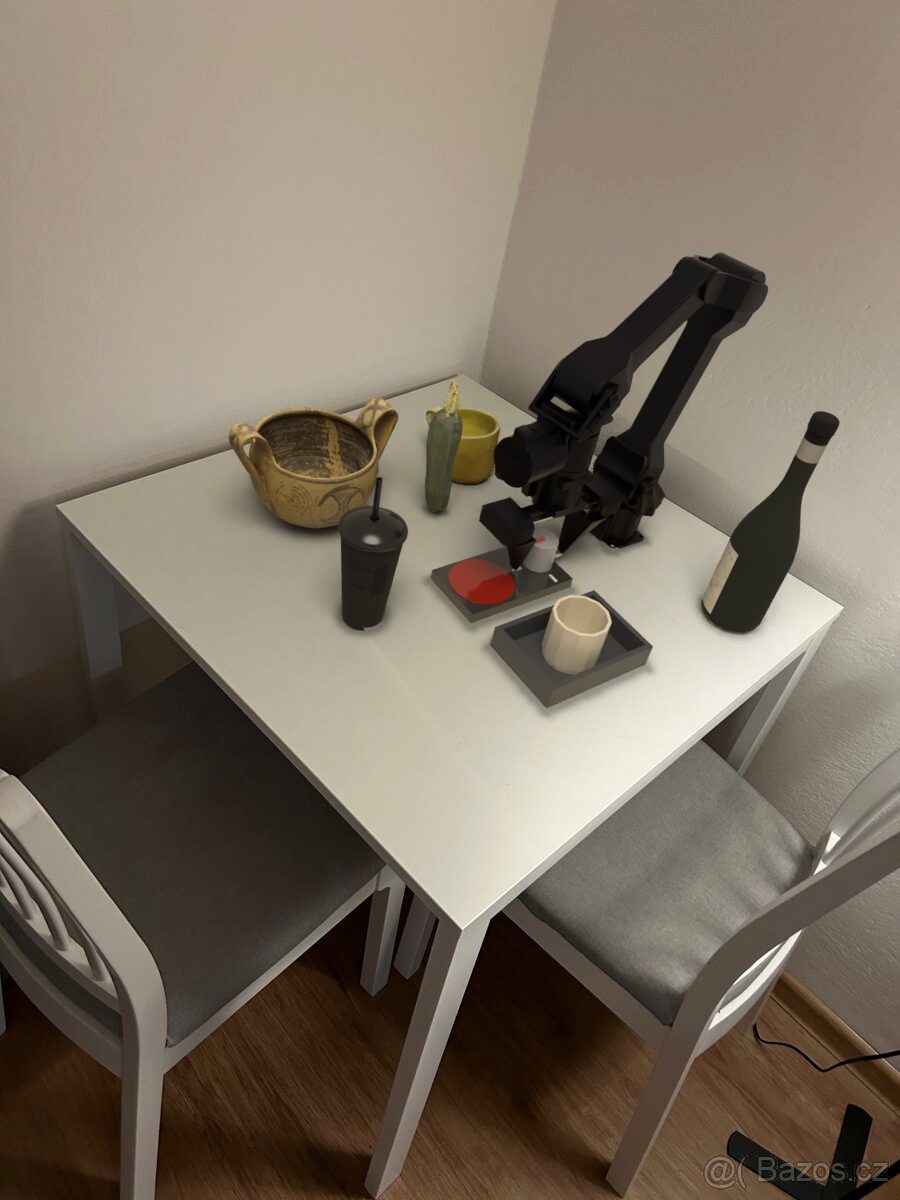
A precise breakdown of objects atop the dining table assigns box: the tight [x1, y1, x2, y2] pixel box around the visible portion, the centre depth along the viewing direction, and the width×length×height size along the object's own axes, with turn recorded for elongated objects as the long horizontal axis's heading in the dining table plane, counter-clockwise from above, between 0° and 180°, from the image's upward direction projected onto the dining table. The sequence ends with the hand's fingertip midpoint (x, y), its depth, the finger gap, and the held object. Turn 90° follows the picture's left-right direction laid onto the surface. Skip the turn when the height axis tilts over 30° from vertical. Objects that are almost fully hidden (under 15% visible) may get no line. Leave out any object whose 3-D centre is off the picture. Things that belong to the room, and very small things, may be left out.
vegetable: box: [424, 379, 463, 513], centre depth 118 cm, size 4×4×20 cm
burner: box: [448, 559, 515, 605], centre depth 112 cm, size 8×8×1 cm
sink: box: [489, 589, 654, 709], centre depth 106 cm, size 16×11×4 cm
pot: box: [541, 594, 612, 675], centre depth 105 cm, size 7×7×6 cm
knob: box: [523, 528, 559, 573], centre depth 115 cm, size 4×4×4 cm
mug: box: [425, 405, 501, 485], centre depth 132 cm, size 12×10×10 cm
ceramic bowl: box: [227, 396, 399, 529], centre depth 116 cm, size 22×17×15 cm
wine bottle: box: [701, 410, 841, 634], centre depth 108 cm, size 8×8×30 cm
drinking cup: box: [337, 476, 409, 632], centre depth 100 cm, size 8×8×20 cm
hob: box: [430, 546, 574, 624], centre depth 115 cm, size 18×9×2 cm, turn 124°
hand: (537, 559), depth 116 cm, fingers open, 8 cm apart
